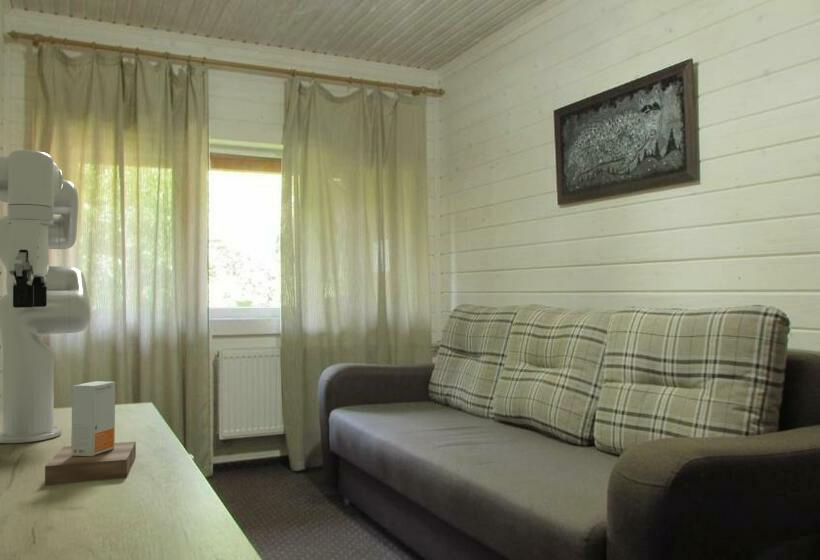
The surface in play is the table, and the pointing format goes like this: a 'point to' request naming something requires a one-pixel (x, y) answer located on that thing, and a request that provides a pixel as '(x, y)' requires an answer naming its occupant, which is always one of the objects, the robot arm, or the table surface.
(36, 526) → the table surface
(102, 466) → the block
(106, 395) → the skincare box
